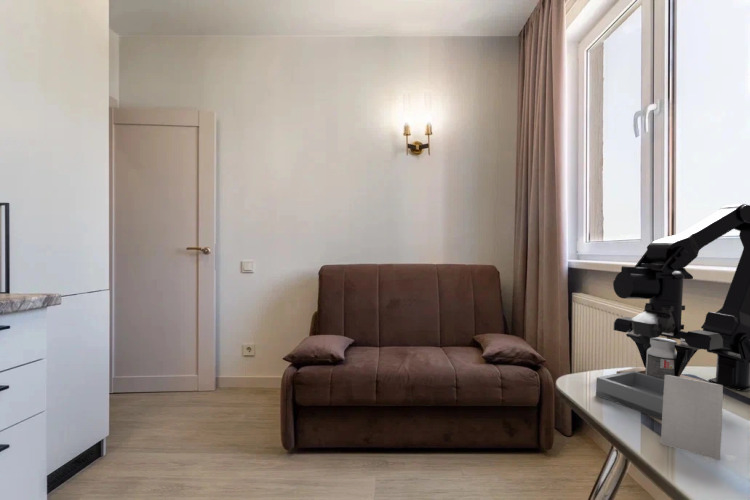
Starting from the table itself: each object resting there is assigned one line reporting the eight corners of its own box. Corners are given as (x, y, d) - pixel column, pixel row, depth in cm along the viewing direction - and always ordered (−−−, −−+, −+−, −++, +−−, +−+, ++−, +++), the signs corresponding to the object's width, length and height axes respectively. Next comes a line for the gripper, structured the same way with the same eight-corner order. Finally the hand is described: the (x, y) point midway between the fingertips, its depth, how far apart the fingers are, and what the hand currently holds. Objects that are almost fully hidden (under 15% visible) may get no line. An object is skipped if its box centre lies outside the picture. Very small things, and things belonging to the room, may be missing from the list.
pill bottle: (683, 392, 83) (685, 344, 83) (652, 389, 84) (654, 341, 84) (668, 382, 89) (671, 338, 89) (640, 380, 90) (642, 335, 90)
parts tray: (631, 387, 85) (632, 370, 85) (698, 408, 75) (699, 390, 75) (595, 394, 80) (596, 377, 80) (662, 419, 69) (663, 399, 69)
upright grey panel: (719, 460, 56) (723, 389, 56) (660, 444, 60) (664, 377, 60) (717, 449, 59) (721, 382, 59) (661, 435, 63) (665, 371, 63)
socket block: (647, 374, 95) (647, 365, 95) (708, 391, 84) (708, 382, 84) (616, 380, 89) (616, 371, 89) (677, 400, 79) (677, 390, 79)
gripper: (600, 294, 91) (596, 363, 91) (696, 308, 74) (692, 392, 75) (629, 293, 96) (626, 358, 96) (726, 305, 79) (721, 384, 80)
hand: (661, 371), depth 87 cm, fingers closed on pill bottle, 6 cm apart
